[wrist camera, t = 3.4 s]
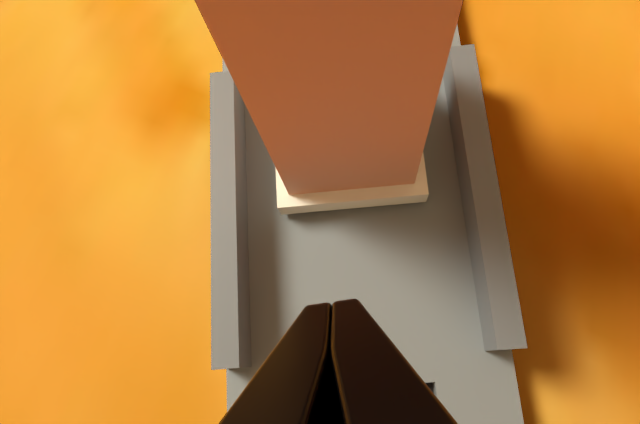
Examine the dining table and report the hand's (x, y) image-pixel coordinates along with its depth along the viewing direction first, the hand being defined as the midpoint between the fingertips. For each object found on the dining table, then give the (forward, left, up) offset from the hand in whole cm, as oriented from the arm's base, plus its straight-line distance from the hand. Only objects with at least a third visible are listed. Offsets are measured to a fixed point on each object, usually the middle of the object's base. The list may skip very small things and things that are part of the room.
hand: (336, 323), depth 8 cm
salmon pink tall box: (+5, -7, -12) cm, 14 cm away
